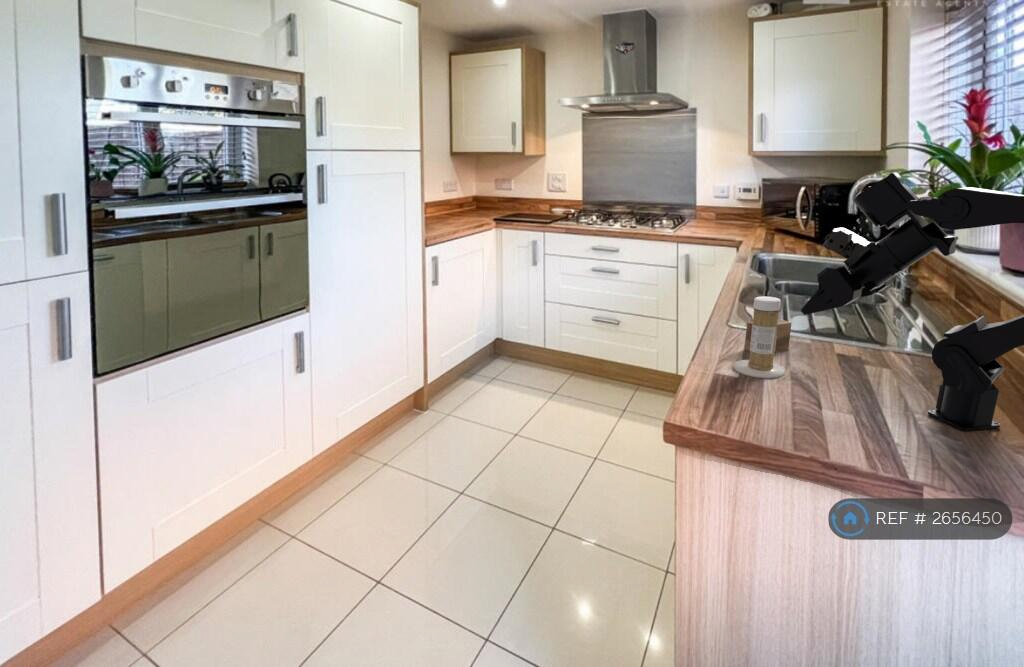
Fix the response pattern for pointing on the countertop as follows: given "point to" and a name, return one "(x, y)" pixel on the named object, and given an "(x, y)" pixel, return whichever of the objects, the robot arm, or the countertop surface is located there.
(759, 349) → the sprinkles bottle
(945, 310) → the countertop surface
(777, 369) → the stone coaster
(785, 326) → the walnut block
